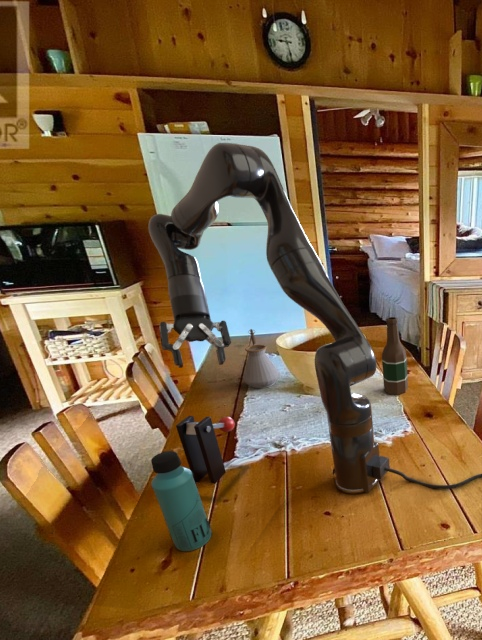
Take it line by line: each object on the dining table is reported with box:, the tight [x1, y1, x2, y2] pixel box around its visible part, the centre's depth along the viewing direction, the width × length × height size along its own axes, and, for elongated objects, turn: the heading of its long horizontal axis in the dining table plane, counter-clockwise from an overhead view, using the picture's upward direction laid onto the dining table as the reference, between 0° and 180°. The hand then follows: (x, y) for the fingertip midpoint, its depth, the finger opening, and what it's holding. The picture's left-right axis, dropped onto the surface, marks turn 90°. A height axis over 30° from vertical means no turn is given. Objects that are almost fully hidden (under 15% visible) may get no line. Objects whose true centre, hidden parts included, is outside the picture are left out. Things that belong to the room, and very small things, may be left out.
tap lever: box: [186, 416, 236, 435], centre depth 99 cm, size 14×4×4 cm, turn 173°
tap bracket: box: [175, 415, 227, 485], centre depth 96 cm, size 12×10×16 cm
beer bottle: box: [381, 316, 409, 396], centre depth 138 cm, size 8×8×24 cm
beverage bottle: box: [150, 450, 213, 552], centre depth 78 cm, size 6×7×20 cm
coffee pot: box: [242, 328, 280, 389], centre depth 149 cm, size 21×12×15 cm, turn 25°
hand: (201, 365), depth 103 cm, fingers open, 8 cm apart
